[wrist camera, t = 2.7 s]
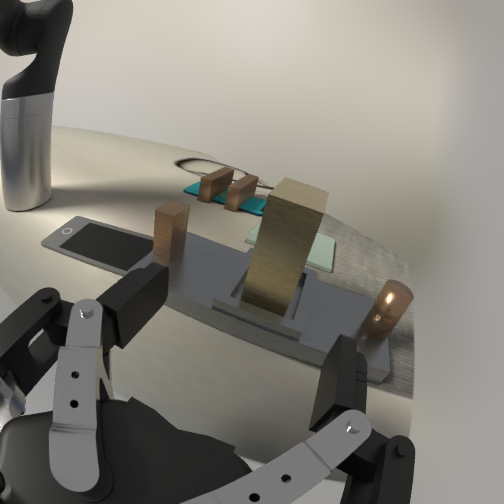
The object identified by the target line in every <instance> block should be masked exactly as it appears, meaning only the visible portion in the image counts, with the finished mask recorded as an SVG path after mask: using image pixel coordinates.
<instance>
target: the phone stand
mask: <svg viewBox="0 0 504 504" xmlns="http://www.w3.org/2000/svg"><path fill="white" fill-rule="evenodd" d="M233 174H234V169H230V168H227V167H224V168H222V169H219V170H217V171H215V172H212V173H210V174H208V175H206V176H203V177H201V181H200V187H199V194H198V200H200V201H203V202H206V203H209V202H210V201H212V199H213V198H214V197H216V196H218V195H219V194H221V193H222V192H224V191H225V190H227V189H228V192H227V197H226V202H225V207H224V209H227V210H230V211H233V212H236V211H237V210H238V209H239V207H240V206H241V205H243V204H244V203H245V202H246V201H247V200H248V199H250V198H251V197H254V194H255V190H256V186H257V182H258V177H257V176H254V175H251V174H248V175H246V176H244V177H243V178H241V179H239V180H238V181H236V182H234V183H233V184H231V183H232V179H233Z"/></svg>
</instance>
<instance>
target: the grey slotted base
mask: <svg viewBox="0 0 504 504" xmlns="http://www.w3.org/2000/svg"><path fill="white" fill-rule="evenodd" d="M189 209H190V206H189V205H186V204H183V203H180V202H177V201H174V200H172V201H171V202H169V203H167V204H165V205H163V206H161V207H160V208H158V209H156V210H155V225H154V244H153V251H152V252H150V253H149V254H148V255H147V256H145V257H144V258H143V259H141V260H140V261H139V262H138V263H136V264H135V265H134V266H132V267H131V268H130V269H129V270H128V273H129V272H130V271H132V270H135V269H137V268H140V267H141V268H143V269H144V268H145V267H146V266H148V265H149V264H150V263H151V262H157V263H159V264H161V265H164V266H166V267H168V268H169V285H168V296H167V299H166V301H165V303H164V305H166V306H168V307H170V308H173V309H175V310H177V311H179V312H181V313H183V314H185V315H188V316H190V317H192V318H194V319H196V320H199V321H201V322H203V323H205V324H208V325H210V326H212V327H215V328H217V329H219V330H222V331H224V332H226V333H229V334H231V335H234V336H236V337H238V338H241V339H243V340H246V341H248V342H251V343H254V344H256V345H259V346H261V347H264V348H266V349H269V350H272V351H274V352H277V353H280V354H283V355H285V356H288V357H291V358H294V359H297V360H300V361H302V362H305V363H308V364H311V365H314V366H317V367H320V368H322V365H323V362H324V360H325V358H326V356H327V354H328V353H329V351H330V349H331V348H332V346H333V345H334V343H335V341H336V340H337V338H338V336H339V335H340V334H343V335H346V336H349V337H352V338H355V339H357V352H359V353H362V354H364V356H365V359H366V361H367V364H368V365H367V382H370V383H374V384H378V385H379V384H380V383H381V382H382V380H383V379H384V378H385V377H386V376H387V375H388V374H389V373H390V359H389V345H388V335H389V334H390V333H391V331H392V330H393V328H394V327H395V326H396V324H397V323H398V321H399V320H400V318H401V317H402V315H403V314H404V312H405V311H406V309H407V308H408V306H409V305H410V303H411V302H412V300H413V298H414V297H413V293H412V292H411V290H410V289H409V288H408V287H407V286H405V285H404V284H402V283H401V282H398V281H396V280H388V281H386V283H385V285H384V287H383V289H382V290H381V292H380V294H379V296H378V297H377V299H376V301H374V300H371V299H368V298H366V297H363V296H360V295H357V294H355V293H352V292H349V291H347V290H344V289H341V288H338V287H336V286H333V285H330V284H327V283H325V282H322V281H319V280H317V279H316V275H317V272H315V271H313V270H310V269H307V268H304V269H303V271H302V274H301V276H300V279H299V281H298V284H297V286H296V289H295V291H294V294H293V296H292V299H291V301H290V304H289V306H288V309H287V311H286V313H285V316H284V317H282V316H280V315H277V314H274V313H272V312H269V311H266V310H264V309H261V308H259V307H256V306H254V305H251V304H248V303H246V302H243V301H241V300H240V299H241V295H242V292H243V288H244V284H245V280H246V277H247V273H248V269H249V265H250V262H251V258H252V254H253V250H254V249H253V248H250V249H249V251H248V252H247V253H243V252H241V251H238V250H235V249H233V248H230V247H227V246H225V245H222V244H219V243H217V242H214V241H211V240H208V239H206V238H203V237H200V236H198V235H195V234H192V233H190V232H187V224H188V216H189Z"/></svg>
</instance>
